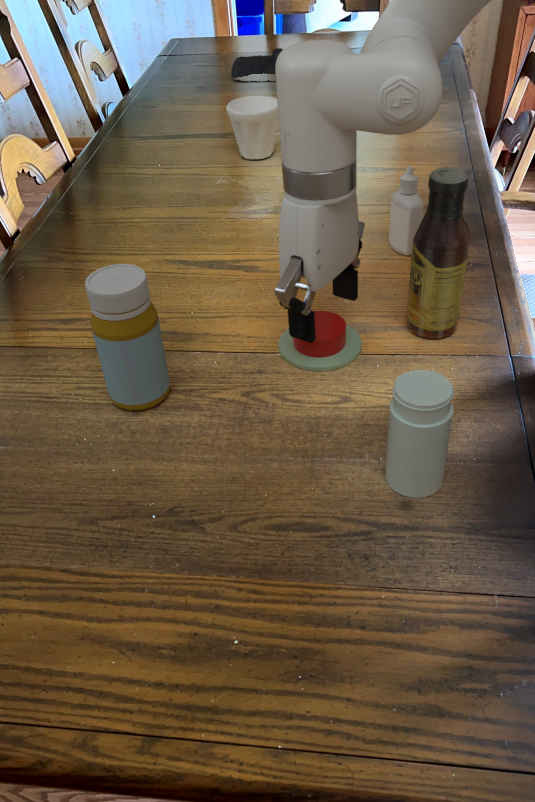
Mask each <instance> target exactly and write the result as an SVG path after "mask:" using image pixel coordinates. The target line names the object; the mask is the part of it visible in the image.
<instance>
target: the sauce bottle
mask: <svg viewBox="0 0 535 802" xmlns="http://www.w3.org/2000/svg"><path fill="white" fill-rule="evenodd" d="M468 186H469V174H468V172H467V171H466V170H465V169H461V168H458V167H452V166H444V167H438V168H436V169H435V170H433V171H431V172H430V174H429V177H428V184H427V187H428V189H429V193H428V203H427V207H426V212H425V213H424V214H423V219H422V221H421V224H420V226H419V228H418V230H417V232H416V234H415V236H414V239H413V248H412V255H411V261H410V271H409V272H410V273H409V287H408V297H407V309H406V317H407V325H408V328H409V329H410V331H411V332H412V334H414V335H415V336H418V337H422V338H425V339H428V340H429V339H432V340H436V339H437V340H439V339H445V338H447V337H449V336H451V335H452V334H453V333H454V331H455V330H456V328H457V326H458V322H459V320H460V315H461V313H460V312H461V307H462V306H461V305H462V300H463V295H464V286H465V279H466V272H467V267H468V266H467V265H468V259H469V255H468V254H469V251H468V250H469V244H470V240H471V238H470V237H471V236H470V235H471V234H470V233H471V232H470V231H471V229H470V227H469V224H468V222H466V219H465V218H464V215H463V214H464V209H465V208H464V202H465V201H464V200H465V194H466V192H467V190H468Z"/></svg>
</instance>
